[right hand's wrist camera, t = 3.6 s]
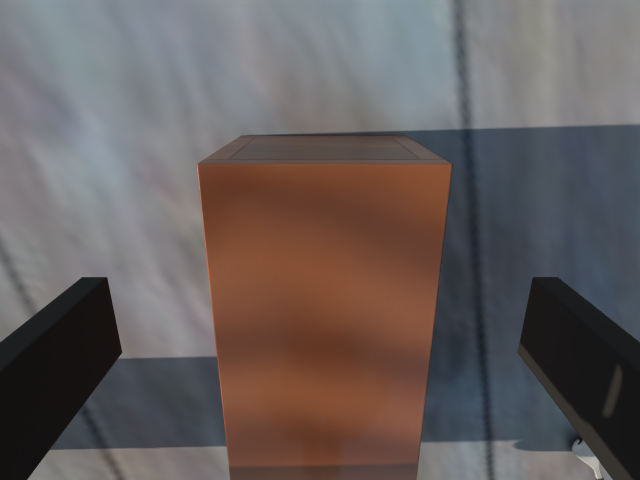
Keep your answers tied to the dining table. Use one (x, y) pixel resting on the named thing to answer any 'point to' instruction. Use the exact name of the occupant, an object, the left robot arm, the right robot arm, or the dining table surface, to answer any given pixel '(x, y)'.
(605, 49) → the dining table surface
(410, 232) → the cabinet
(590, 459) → the fork
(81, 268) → the dining table surface
